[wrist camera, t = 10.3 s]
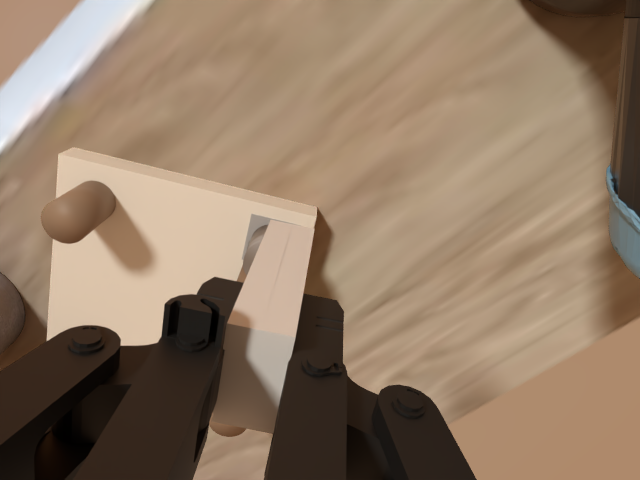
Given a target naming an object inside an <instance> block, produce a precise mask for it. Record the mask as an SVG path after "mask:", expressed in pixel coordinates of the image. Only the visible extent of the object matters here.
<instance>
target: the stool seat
mask: <svg viewBox="0 0 640 480" xmlns="http://www.w3.org/2000/svg"><path fill="white" fill-rule="evenodd" d="M316 218H317V207H315V206H311V205H307V204H303V203H299V202H295V201H291V200H286V199H282V198H278V197H274V196H270V195H266V194H262V193H258V192H254V191H250V190H246V189H242V188H238V187H234V186H230V185H226V184H221V183H217V182H213V181H209V180H205V179H201V178H197V177H193V176H189V175H185V174H181V173H177V172H173V171H169V170H165V169H160V168H156V167H152V166H148V165H144V164H140V163H136V162H132V161H128V160H124V159H120V158H116V157H112V156H108V155H104V154H99V153H95V152H91V151H87V150H83V149H79V148H75V147H73V148H71V149H69V150H66V151H64V152H62V153H60V154H59V156H58V172H57V187H56V199H55V200H53V201H51V202H50V203H48V204H47V205H46V206H45V207H44V209H43V211H42V214H41V222H42V225H43V228H44V229H45V231H46V232H47V234H48V235H49V236H50V237H52V238H53V249H52V264H51V280H50V295H49V311H48V326H47V341H48V340H50V339H51V338H53V337H54V336H56V335H57V334H59V333H61V332H63V331H65V330H67V329H69V328H72V327H77V326H82V325H97V326H102V327H106V328H109V329H111V330H113V331H114V332H116V333H117V334H118V336H119V337H120V339H121V345H120V346H139V345H149V344H154V343H157V342H158V341H159V339H160V338H161V336H162V325H163V315H164V305H165V303H166V302H167V301H168V300H170V299H171V298H174V297H177V296H179V295H188V294H195V295H197V292H198V290H199V289H200V287H201V285H202V284H203V283H204V282H206V281H208V280H210V279H211V278H213V277H218V278H223V279H228V280H233V281H237V279H238V276H239V273H240V271H241V268H242V265H243V259H244V256H245V254H246V251H247V248H248V245H249V243H250V240H251V237H252V235H253V233H254V232H255V231H256V230H257V229H258V228H259V227H261V226H264V225H269V222H270V220H275V221H280V222H285V223H290V224H294V225H299V226H304V227H309V228H313V229H314V225H315V221H316ZM212 417H213V413H212V416H211V418H210V421H209V425H210V427H211V428H212V430H213V431H215V432H216V433H217V434H219V435H222V436H227V437H233V436H237V435H240V434H241V433H243V432H244V431H245V430H246V428H242V427H237V426H232V425H226V424H221V423H216V422H212Z"/></svg>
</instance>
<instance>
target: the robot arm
mask: <svg viewBox="0 0 640 480" xmlns="http://www.w3.org/2000/svg"><path fill="white" fill-rule="evenodd" d="M530 1H532V2H533V3H534V4H536V5H538V6H540V7H542V8H544V9H546V10H548V11H551V12H554V13H557V14H561V15H566V16H574V17H591V16H603V15H611V14H617V13H621V12H625V17H624V27H623V38H622V48H621V59H620V69H619V80H618V90H617V101H616V112H615V122H614V133H613V143H612V154H611V163H610V165H609V167H608V168H607V172H606V184H607V189H608V191H609V193H610V205H609V235H610V239H611V243H612V246H613V248H614V249H615V251H616V252H617V253H618V254H619V255H620V256H621V258H622V260H623V261H624V264H625V266H626V267H627V268H628V269H629V270H630V271H631V272H632V273H633V274H634V275H635V276H637V277H638V278H639V279H640V0H530ZM314 230H315V229H313V228H309V227H304V226H299V225H294V224H290V223H285V222H280V221H275V220H270V222H269V225H268V227H267V229H266V232H265V234H264V237H263V239H262V241H261V244H260V246H259V248H258V251H257V253H256V256H255V258H254V260H253V263H252V265H251V267H250V270H249V272H248V274H247V277H246V279H245V282H244V283H243V282H238V281H233V280H228V279H223V278H218V277H213V278H211V279H210V280H208V281H206V282H204V283H203V284H202V285H201V287H200V289H199V290H198V292H197V295H195V294H188V295H179V296H177V297H174V298H171V299H170V300H168V301H167V302H166V303H165V305H164V315H163V325H162V336H161V338H160V339H159V341H158V342H157V343H154V344H149V345H139V346H120V345H121V339H120V337H119V336H118V334H117V333H116V332H114V331H113V330H111V329H109V328H106V327H102V326H97V325H82V326H77V327H72V328H69V329H67V330H65V331H63V332H61V333H59V334H57V335H56V336H54V337H53V338H51V339H50V340H48V341H47V342H45V343H43V344H42V345H40V346H39V347H37V348H36V349H34V350H33V351H31V352H30V353H28V354H26V355H25V356H23V357H22V358H20V359H19V360H17V361H16V362H14V363H13V364H11V365H9V366H8V367H6V368H5V369H3V370H2V371H0V480H193V477H194V474H195V471H196V468H197V465H198V462H199V460H200V457H201V454H202V451H203V448H204V445H205V442H206V439H207V434H208V427H209V421H210V418H211V416H212V413H213V417H212V422H216V423H221V424H226V425H232V426H237V427H242V428H247V429H252V430H257V431H262V432H267V433H272V434H273V437H272V442H271V447H270V451H269V456H268V461H267V465H266V470H265V474H264V476H265V477H264V480H477V479H476V478H475V476H474V474H473V472H472V470H471V468H470V467H469V465H468V463H467V461H466V459H465V458H464V456H463V454H462V452H461V451H460V448H459V446H458V445H457V443H456V441H455V439H454V437H453V435H452V433H451V432H450V430H449V428H448V426H447V424H446V422H445V421H444V419H443V417H442V415H441V413H440V411H439V410H438V408H437V406H436V405H435V404H434V402H433V401H432V400H431V399H430V398H429V397H428V396H426V395H425V394H424V393H422V392H421V391H418V390H416V389H414V388H411V387H408V386H402V385H392V386H387V387H385V388H384V389H382V390H381V391H380V393H379V395H377V394H375V393H373V392H370V391H368V390H366V389H364V388H362V387H360V386H358V385H357V384H356V383H355V382H353V381H352V380H351V379H350V378H349V377H348V376H347V370H346V367H345V365H344V364H343V321H344V311H343V309H342V308H341V306H340V305H339V303H338V302H337V300H332V299H327V298H322V297H317V296H312V295H308V294H303V292H304V287H305V281H306V275H307V270H308V264H309V259H310V253H311V247H312V242H313V236H314Z"/></svg>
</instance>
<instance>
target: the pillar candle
mask: <svg viewBox="0 0 640 480" xmlns="http://www.w3.org/2000/svg"><path fill="white" fill-rule="evenodd" d="M24 322H25V311H24V305H23V302H22V299H21V297H20V295H19V293H18V291H17V290H16V288H15V287H14V285H13V284H12V283H11V282H10V281H9V280H8V279H7V278H6V277H5V276H4V275H3V274H1V273H0V354H1V353H2V352H3V351H4V350H5V349H6V348H7V347H9V345H11V344H12V343H13V342H14V341H15V340H16V338H17V337H18V336H19V334H20V333H21V331H22V329H23V326H24Z"/></svg>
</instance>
